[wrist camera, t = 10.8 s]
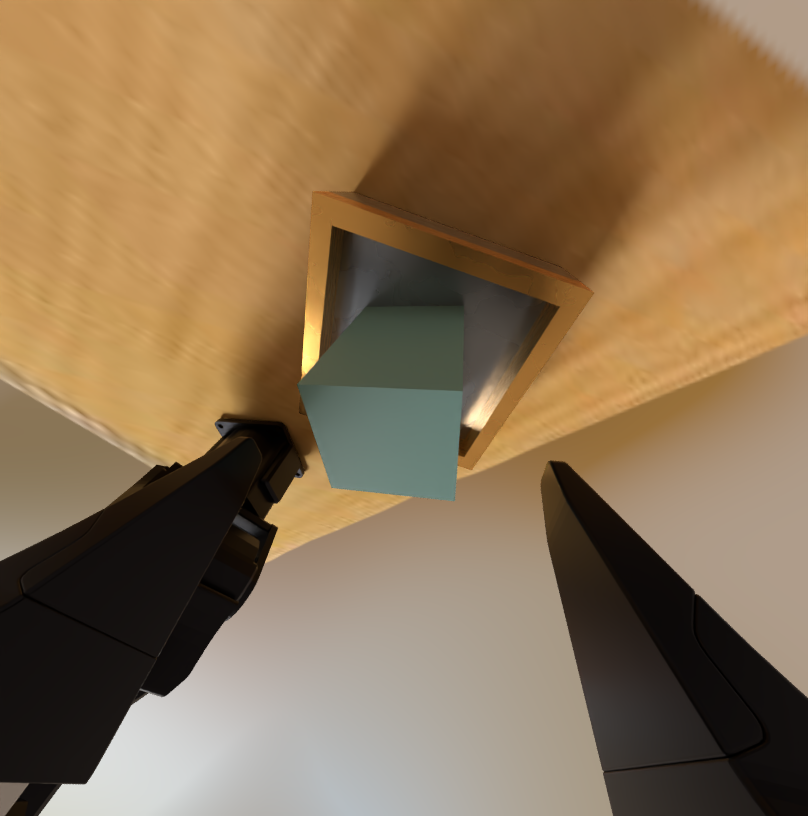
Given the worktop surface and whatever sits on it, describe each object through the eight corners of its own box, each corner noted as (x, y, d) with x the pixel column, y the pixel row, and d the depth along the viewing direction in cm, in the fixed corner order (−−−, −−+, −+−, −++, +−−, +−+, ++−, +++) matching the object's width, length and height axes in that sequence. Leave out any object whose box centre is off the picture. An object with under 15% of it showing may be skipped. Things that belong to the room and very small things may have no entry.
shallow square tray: (328, 374, 20) (299, 413, 16) (353, 192, 13) (312, 191, 10) (470, 422, 20) (471, 470, 17) (561, 267, 14) (594, 292, 10)
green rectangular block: (377, 388, 16) (331, 488, 11) (365, 306, 14) (296, 384, 8) (458, 391, 15) (454, 501, 10) (464, 305, 13) (462, 391, 7)
